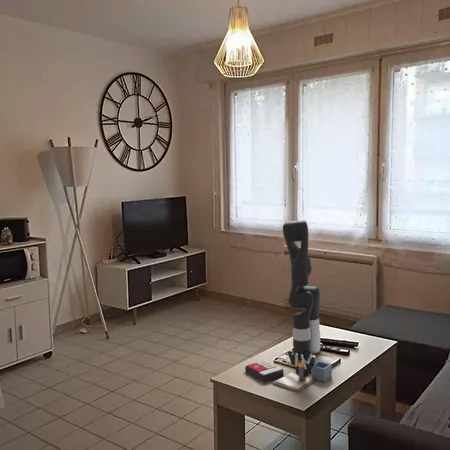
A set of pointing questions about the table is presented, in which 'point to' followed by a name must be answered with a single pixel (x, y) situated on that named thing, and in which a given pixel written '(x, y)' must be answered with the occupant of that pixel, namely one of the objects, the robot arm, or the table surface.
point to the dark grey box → (264, 371)
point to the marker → (301, 372)
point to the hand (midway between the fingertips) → (302, 375)
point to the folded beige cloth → (293, 382)
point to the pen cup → (321, 371)
